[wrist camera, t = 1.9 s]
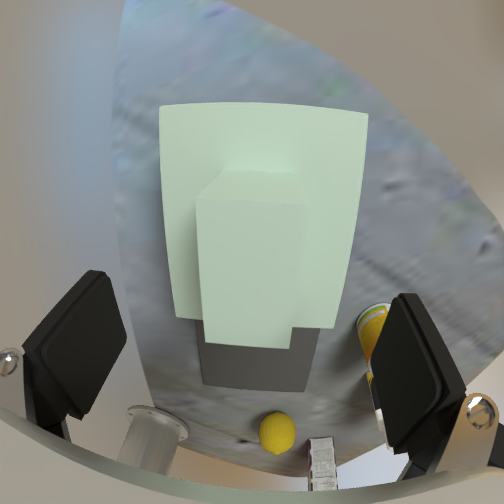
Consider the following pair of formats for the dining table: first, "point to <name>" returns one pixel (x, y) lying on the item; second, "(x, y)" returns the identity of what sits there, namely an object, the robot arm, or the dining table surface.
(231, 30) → the dining table surface
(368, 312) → the supplement bottle
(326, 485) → the candy bar box
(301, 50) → the dining table surface
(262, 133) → the lid
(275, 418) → the lemon
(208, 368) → the mat
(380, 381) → the robot arm
